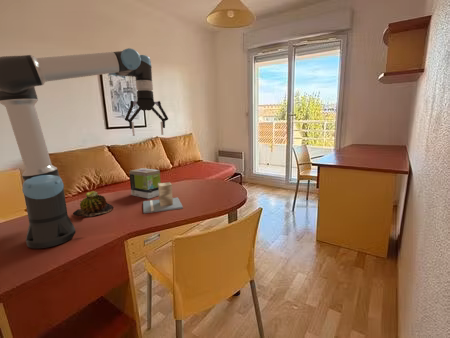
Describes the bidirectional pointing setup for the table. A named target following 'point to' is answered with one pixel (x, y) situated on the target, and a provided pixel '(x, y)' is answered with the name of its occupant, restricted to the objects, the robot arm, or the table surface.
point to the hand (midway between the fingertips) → (148, 135)
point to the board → (155, 206)
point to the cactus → (93, 205)
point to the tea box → (145, 182)
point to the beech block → (165, 194)
